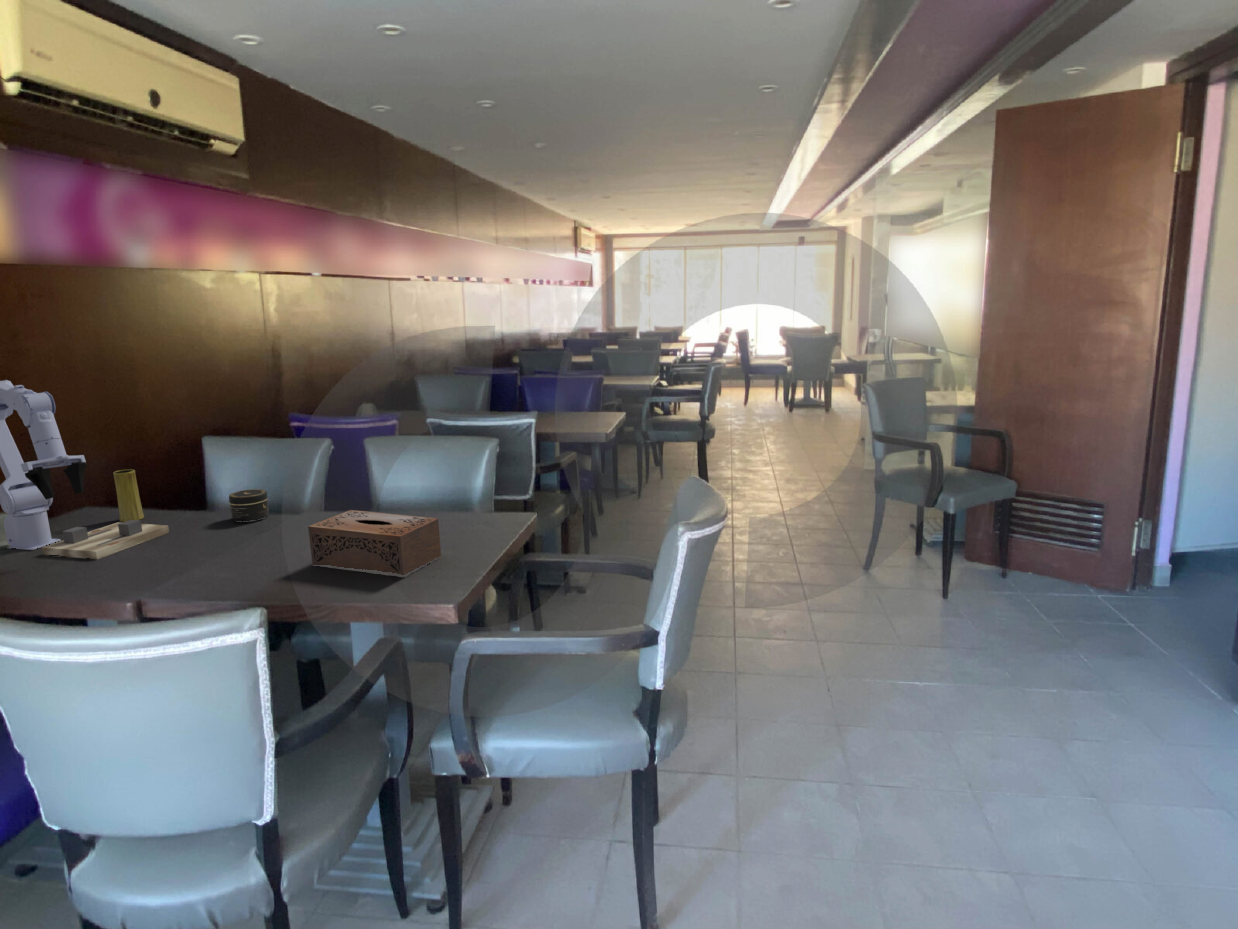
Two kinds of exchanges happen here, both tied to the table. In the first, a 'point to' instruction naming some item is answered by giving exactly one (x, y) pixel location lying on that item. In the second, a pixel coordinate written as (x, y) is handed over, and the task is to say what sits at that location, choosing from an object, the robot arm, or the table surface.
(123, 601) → the table surface
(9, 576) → the table surface
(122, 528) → the outer knob
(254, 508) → the jar
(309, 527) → the tissue box cover
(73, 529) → the inner knob
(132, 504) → the vase
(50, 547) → the wooden board
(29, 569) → the table surface
